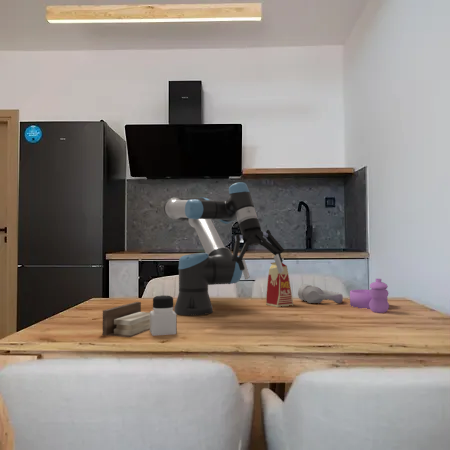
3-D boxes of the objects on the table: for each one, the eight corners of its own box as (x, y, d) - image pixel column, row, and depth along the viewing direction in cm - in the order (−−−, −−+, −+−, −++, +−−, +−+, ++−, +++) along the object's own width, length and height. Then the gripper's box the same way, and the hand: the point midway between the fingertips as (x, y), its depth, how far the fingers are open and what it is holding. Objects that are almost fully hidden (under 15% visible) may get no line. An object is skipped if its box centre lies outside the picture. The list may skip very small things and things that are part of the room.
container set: (346, 303, 185) (345, 274, 185) (380, 303, 184) (380, 274, 185) (362, 313, 160) (361, 279, 160) (402, 313, 159) (401, 279, 160)
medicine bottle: (176, 338, 120) (176, 297, 120) (152, 339, 118) (152, 298, 118) (172, 332, 127) (172, 294, 127) (149, 334, 125) (149, 294, 125)
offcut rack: (102, 338, 119) (102, 310, 120) (136, 326, 136) (136, 301, 136) (130, 341, 116) (130, 312, 116) (161, 328, 133) (161, 303, 133)
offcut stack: (113, 333, 120) (114, 319, 120) (140, 324, 133) (140, 311, 134) (131, 335, 118) (131, 320, 118) (156, 325, 131) (156, 312, 131)
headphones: (308, 304, 178) (349, 309, 183) (310, 286, 179) (350, 291, 184) (291, 298, 196) (329, 303, 201) (293, 282, 197) (331, 287, 201)
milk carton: (293, 305, 180) (293, 259, 181) (277, 307, 175) (277, 260, 175) (279, 302, 187) (279, 259, 188) (264, 304, 182) (263, 259, 183)
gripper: (220, 221, 144) (236, 277, 137) (281, 213, 154) (299, 266, 146) (214, 229, 151) (229, 284, 144) (273, 221, 160) (290, 272, 153)
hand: (264, 275), depth 145 cm, fingers open, 13 cm apart
